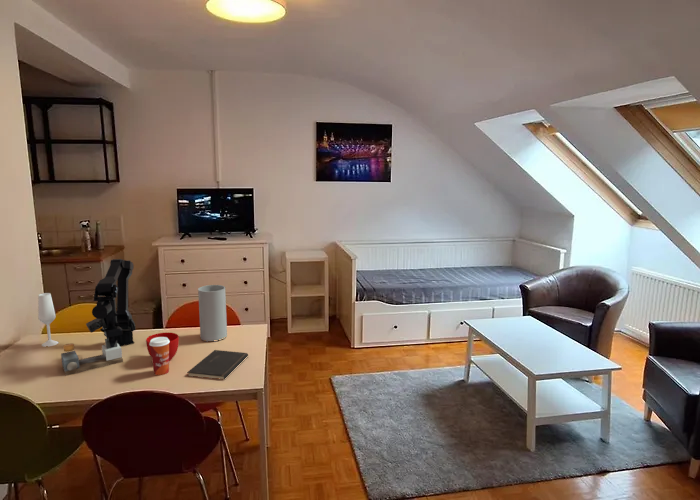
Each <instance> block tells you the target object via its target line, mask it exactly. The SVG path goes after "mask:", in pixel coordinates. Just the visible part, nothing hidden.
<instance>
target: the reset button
mask: <svg viewBox="0 0 700 500" xmlns="http://www.w3.org/2000/svg"><path fill="white" fill-rule="evenodd" d="M62 348H63V352H64V353H66V352H71V351H75V344H74V343H66V344H64V345H63V347H62Z"/></svg>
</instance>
